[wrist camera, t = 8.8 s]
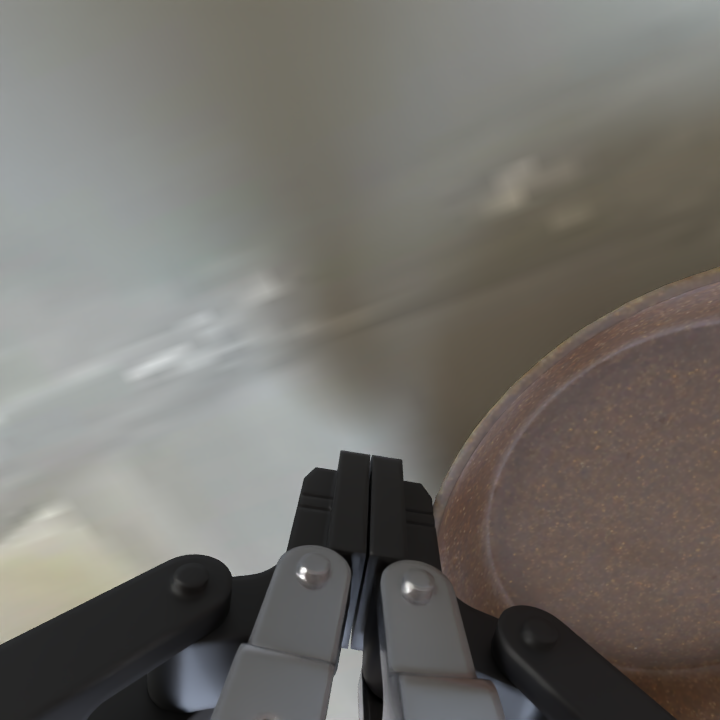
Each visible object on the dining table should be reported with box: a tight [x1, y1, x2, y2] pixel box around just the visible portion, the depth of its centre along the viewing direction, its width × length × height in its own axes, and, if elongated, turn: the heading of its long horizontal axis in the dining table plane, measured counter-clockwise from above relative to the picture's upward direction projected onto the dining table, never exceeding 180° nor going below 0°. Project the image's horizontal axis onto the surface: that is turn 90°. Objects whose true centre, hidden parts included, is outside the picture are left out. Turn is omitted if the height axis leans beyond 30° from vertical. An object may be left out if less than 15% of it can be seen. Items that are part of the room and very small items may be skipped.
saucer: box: [433, 267, 720, 720], centre depth 14 cm, size 15×15×3 cm
